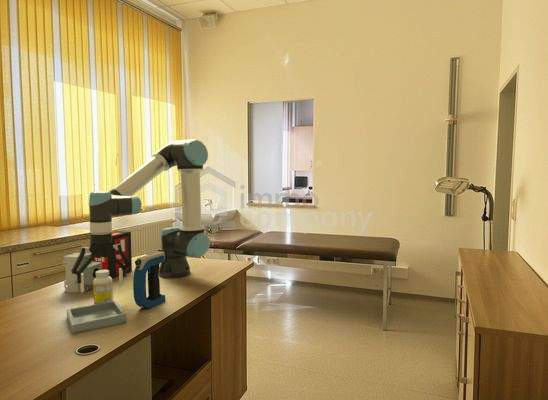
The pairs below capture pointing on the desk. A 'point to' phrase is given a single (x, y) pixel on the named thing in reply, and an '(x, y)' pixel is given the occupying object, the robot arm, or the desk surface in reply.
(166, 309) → the desk surface
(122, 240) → the cleaning product box
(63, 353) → the desk surface
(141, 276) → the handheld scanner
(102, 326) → the tray
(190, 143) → the robot arm
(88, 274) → the circuit breaker
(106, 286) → the supplement bottle
